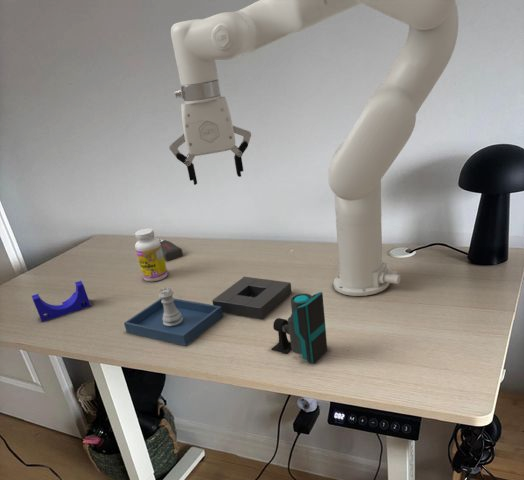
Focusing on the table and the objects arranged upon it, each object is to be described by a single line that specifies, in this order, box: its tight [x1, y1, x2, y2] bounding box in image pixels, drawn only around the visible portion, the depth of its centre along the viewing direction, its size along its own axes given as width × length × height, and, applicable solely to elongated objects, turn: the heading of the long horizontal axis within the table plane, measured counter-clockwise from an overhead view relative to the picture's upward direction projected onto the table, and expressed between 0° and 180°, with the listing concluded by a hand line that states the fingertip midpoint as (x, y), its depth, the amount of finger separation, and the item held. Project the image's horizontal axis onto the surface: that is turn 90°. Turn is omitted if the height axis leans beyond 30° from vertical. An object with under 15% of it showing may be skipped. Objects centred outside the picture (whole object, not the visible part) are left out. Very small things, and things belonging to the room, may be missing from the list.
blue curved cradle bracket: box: [31, 280, 91, 323], centre depth 129 cm, size 12×4×6 cm, turn 117°
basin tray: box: [123, 298, 224, 347], centre depth 115 cm, size 17×13×2 cm
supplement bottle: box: [134, 227, 168, 282], centre depth 137 cm, size 7×7×13 cm
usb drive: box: [160, 239, 184, 262], centre depth 155 cm, size 5×12×3 cm, turn 30°
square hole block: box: [211, 276, 293, 320], centre depth 118 cm, size 13×13×3 cm
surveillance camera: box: [271, 291, 328, 364], centre depth 95 cm, size 6×12×10 cm
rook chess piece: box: [158, 286, 183, 327], centre depth 113 cm, size 4×4×8 cm
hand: (217, 179), depth 113 cm, fingers open, 9 cm apart
